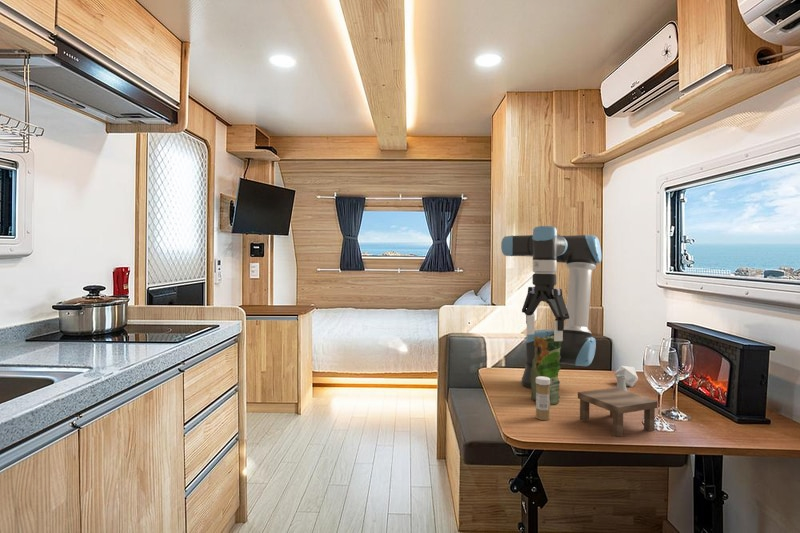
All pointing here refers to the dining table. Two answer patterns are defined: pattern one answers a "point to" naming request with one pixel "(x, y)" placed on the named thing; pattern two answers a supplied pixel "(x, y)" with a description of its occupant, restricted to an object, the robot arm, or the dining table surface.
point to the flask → (621, 382)
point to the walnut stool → (618, 406)
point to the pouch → (546, 365)
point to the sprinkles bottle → (543, 398)
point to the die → (627, 375)
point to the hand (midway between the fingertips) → (543, 337)
